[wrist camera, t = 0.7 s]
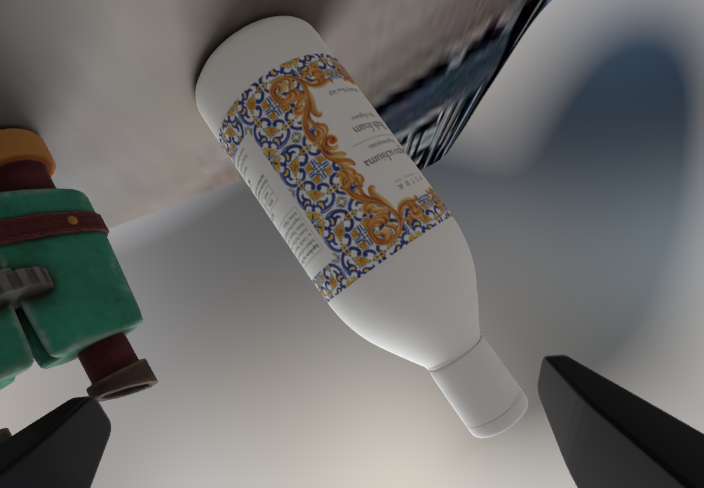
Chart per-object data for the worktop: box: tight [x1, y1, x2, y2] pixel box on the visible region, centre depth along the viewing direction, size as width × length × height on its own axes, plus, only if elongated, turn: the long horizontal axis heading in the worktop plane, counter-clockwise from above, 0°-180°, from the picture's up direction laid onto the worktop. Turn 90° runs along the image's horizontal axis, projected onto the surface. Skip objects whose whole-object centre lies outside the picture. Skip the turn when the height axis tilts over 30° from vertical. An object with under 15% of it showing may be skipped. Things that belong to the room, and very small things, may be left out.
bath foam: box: [195, 16, 528, 438], centre depth 20 cm, size 7×7×20 cm
